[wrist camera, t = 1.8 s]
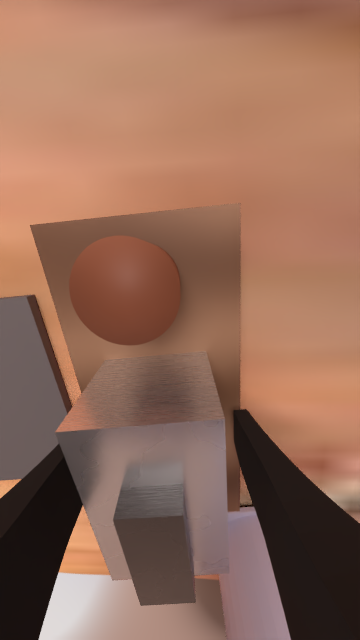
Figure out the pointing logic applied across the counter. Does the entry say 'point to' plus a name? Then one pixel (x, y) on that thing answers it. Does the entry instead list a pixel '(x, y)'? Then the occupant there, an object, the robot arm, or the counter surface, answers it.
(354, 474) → the counter surface
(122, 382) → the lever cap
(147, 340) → the body
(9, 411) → the rubber mat
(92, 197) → the counter surface
